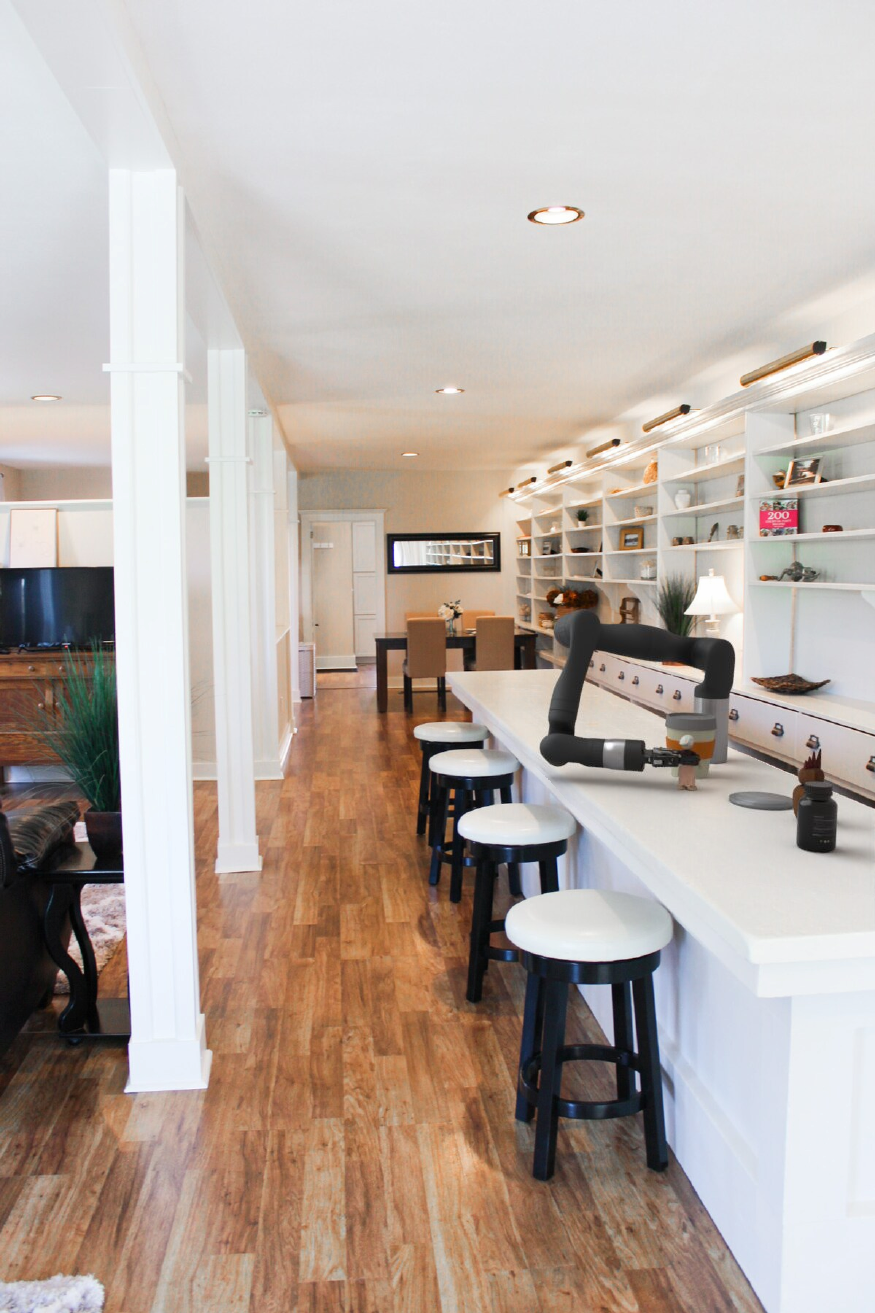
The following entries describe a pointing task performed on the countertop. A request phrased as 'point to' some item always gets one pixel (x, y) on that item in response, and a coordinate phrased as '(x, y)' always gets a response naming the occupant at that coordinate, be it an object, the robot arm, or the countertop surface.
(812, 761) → the wooden figurine
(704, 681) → the robot arm
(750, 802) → the slate coaster
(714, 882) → the countertop surface
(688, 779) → the grandmother figurine
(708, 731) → the reusable coffee cup
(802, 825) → the supplement bottle
